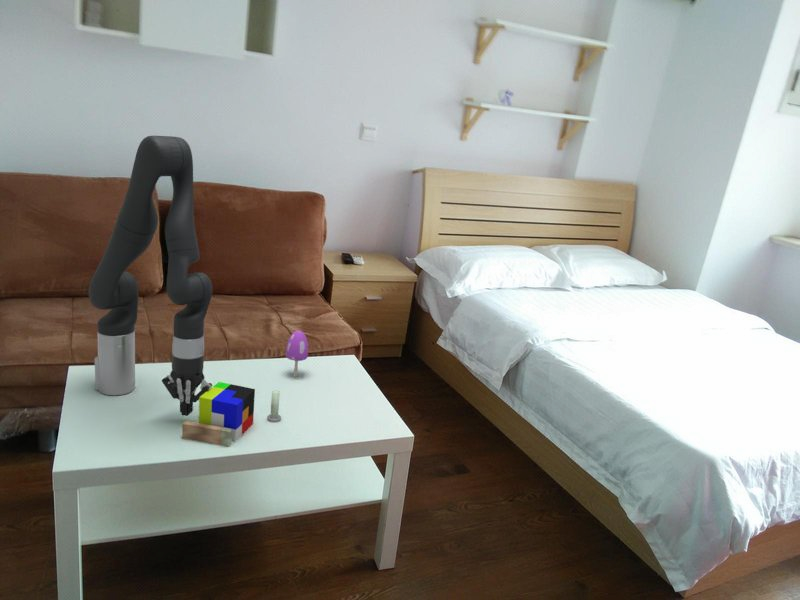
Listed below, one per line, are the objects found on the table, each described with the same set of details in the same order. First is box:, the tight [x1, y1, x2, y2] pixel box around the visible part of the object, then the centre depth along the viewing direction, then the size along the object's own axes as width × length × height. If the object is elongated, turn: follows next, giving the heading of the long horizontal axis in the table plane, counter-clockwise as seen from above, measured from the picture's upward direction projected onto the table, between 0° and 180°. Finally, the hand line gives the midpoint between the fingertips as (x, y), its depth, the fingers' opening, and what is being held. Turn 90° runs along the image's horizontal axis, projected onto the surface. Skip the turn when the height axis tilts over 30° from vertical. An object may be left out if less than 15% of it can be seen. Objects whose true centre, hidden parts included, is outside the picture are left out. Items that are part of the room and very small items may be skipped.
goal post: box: [266, 389, 282, 423], centre depth 166 cm, size 4×4×8 cm
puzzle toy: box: [198, 381, 256, 443], centre depth 158 cm, size 10×10×10 cm
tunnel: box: [181, 420, 233, 447], centre depth 161 cm, size 12×22×4 cm, turn 172°
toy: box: [285, 330, 309, 378], centre depth 193 cm, size 7×7×15 cm
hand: (186, 414), depth 160 cm, fingers closed
